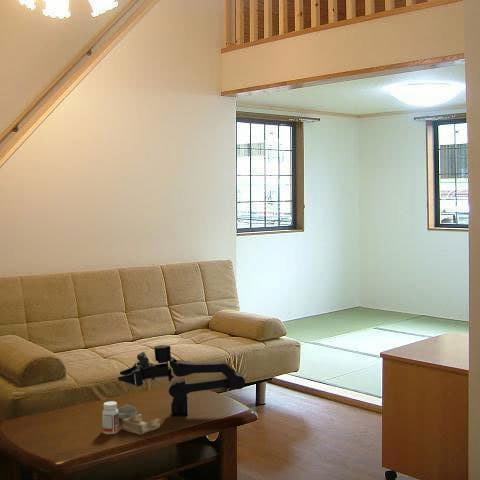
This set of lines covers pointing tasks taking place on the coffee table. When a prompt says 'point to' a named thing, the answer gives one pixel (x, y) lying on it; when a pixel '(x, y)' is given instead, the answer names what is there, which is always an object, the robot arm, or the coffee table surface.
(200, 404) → the coffee table surface
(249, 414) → the coffee table surface
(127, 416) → the wristwatch
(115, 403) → the pill bottle
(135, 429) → the open tray
